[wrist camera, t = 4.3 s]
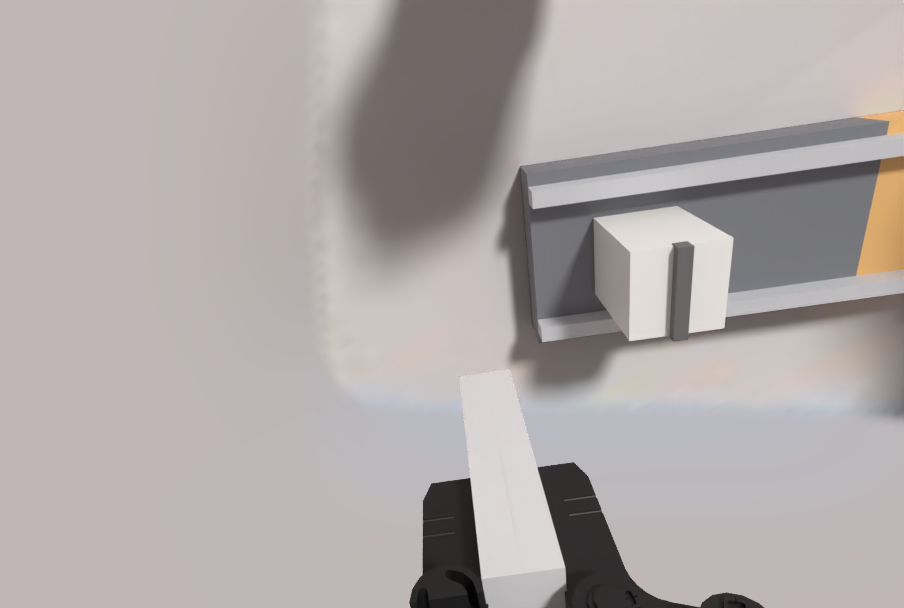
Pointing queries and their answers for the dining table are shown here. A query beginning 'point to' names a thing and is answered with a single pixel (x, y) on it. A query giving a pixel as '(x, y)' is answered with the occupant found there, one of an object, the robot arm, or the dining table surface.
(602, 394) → the dining table surface
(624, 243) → the fader tab
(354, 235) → the dining table surface
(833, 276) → the slider track
